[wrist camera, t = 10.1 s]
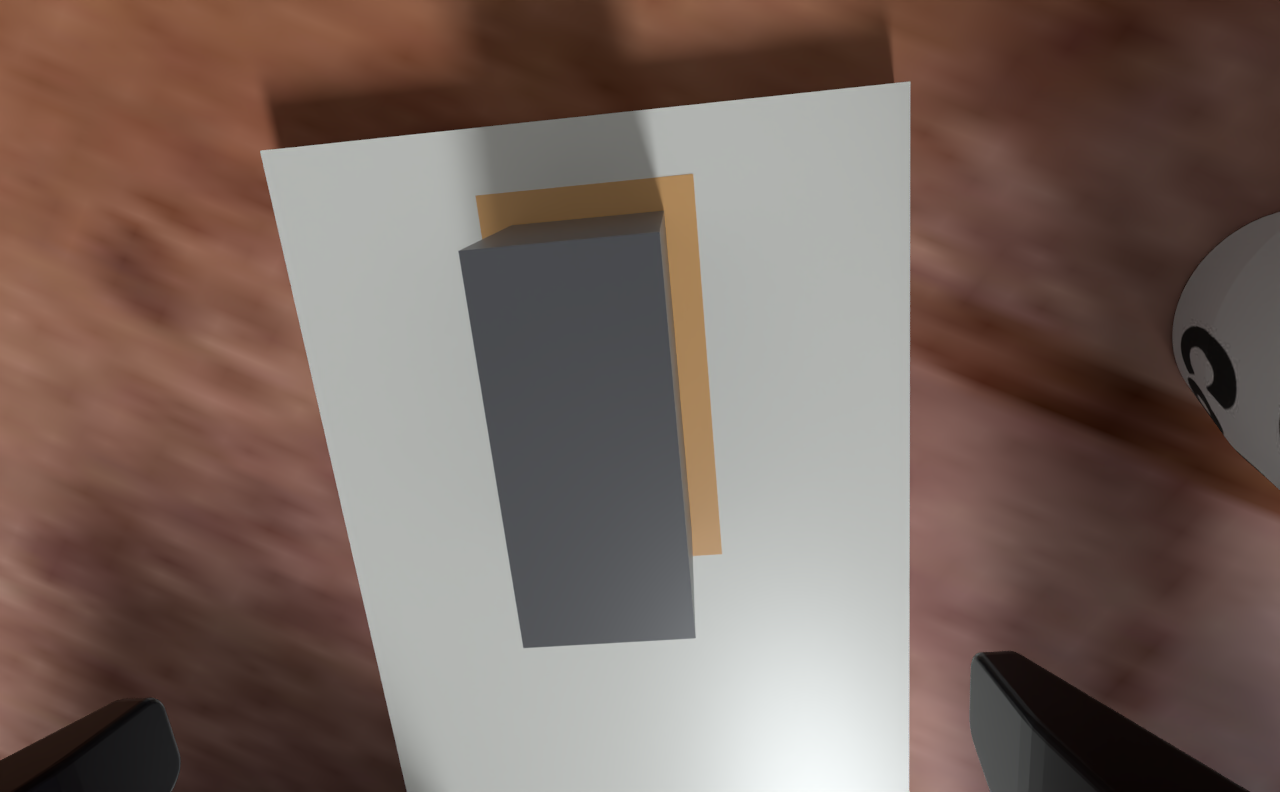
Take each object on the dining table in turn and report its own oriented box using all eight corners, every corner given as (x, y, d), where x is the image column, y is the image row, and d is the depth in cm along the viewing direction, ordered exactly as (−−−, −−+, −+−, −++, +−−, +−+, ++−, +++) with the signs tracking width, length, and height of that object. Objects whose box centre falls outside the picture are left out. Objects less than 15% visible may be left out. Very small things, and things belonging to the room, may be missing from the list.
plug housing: (691, 531, 20) (695, 638, 15) (556, 540, 20) (523, 648, 16) (664, 210, 17) (659, 231, 13) (511, 225, 18) (458, 250, 13)
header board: (897, 861, 24) (935, 983, 21) (445, 877, 25) (407, 997, 22) (895, 85, 18) (949, 70, 14) (285, 150, 19) (194, 151, 15)
